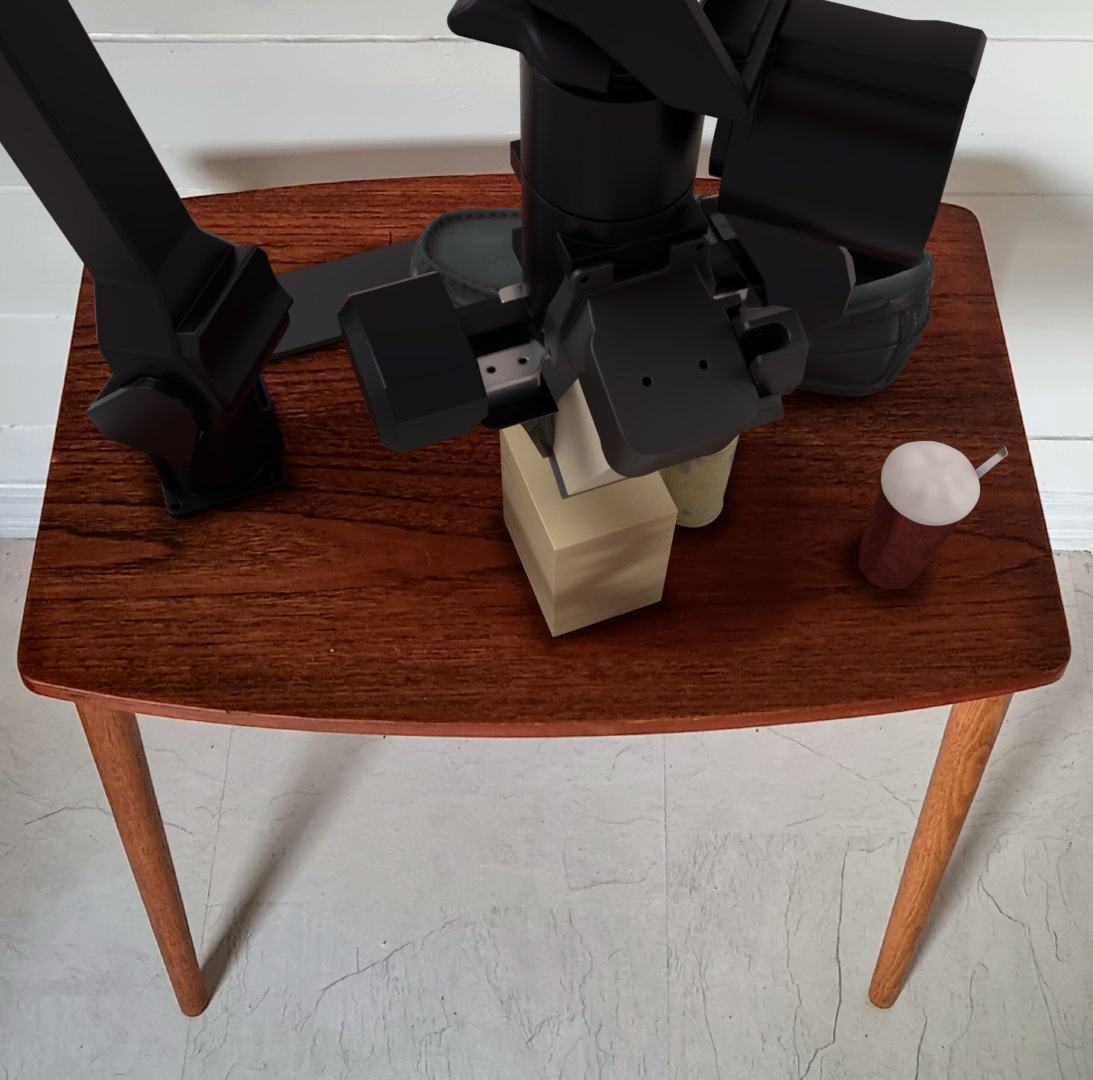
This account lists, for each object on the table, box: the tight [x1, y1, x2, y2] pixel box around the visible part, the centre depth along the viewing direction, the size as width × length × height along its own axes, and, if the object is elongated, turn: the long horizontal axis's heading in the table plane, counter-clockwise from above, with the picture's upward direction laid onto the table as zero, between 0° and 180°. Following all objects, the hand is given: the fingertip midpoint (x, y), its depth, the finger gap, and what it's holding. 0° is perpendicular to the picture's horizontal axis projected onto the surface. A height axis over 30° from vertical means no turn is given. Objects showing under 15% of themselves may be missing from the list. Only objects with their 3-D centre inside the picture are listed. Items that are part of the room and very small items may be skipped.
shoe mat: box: [268, 238, 417, 362], centre depth 73 cm, size 12×6×1 cm, turn 111°
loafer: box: [410, 192, 936, 398], centre depth 68 cm, size 10×29×10 cm, turn 85°
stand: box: [499, 424, 678, 638], centre depth 60 cm, size 6×8×9 cm
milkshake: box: [858, 440, 1009, 591], centre depth 60 cm, size 4×5×10 cm
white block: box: [541, 359, 630, 499], centre depth 48 cm, size 4×6×10 cm, turn 21°
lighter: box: [658, 434, 740, 528], centre depth 63 cm, size 7×4×10 cm, turn 176°
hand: (590, 435), depth 53 cm, fingers closed on white block, 4 cm apart
